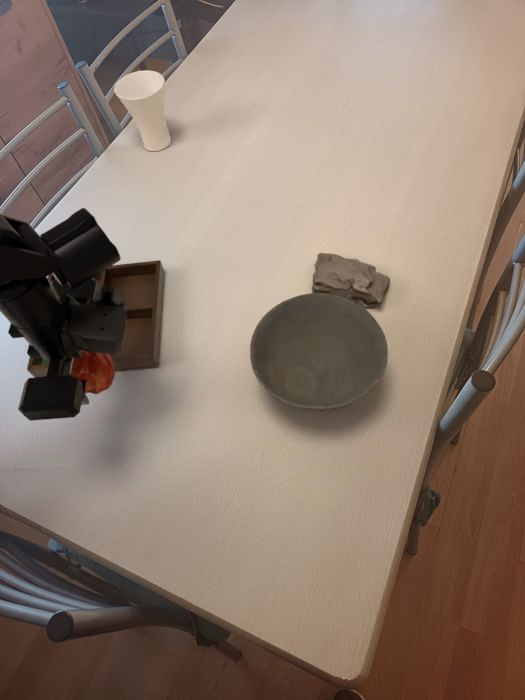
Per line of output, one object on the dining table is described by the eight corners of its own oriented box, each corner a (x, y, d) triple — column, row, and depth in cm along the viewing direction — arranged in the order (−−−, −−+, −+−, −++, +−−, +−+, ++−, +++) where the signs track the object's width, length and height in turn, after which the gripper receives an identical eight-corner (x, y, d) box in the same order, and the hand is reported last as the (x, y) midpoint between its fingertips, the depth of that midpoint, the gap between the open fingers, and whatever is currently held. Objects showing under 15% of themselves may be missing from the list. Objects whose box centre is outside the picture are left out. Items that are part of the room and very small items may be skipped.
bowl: (233, 375, 79) (223, 341, 70) (323, 311, 84) (323, 272, 75) (310, 464, 70) (309, 436, 62) (405, 386, 75) (417, 351, 67)
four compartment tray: (36, 379, 82) (26, 369, 79) (57, 283, 93) (49, 272, 90) (158, 367, 81) (153, 357, 78) (164, 271, 92) (160, 260, 89)
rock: (393, 273, 87) (396, 258, 83) (379, 314, 82) (381, 299, 79) (319, 256, 90) (319, 240, 87) (301, 294, 86) (301, 279, 83)
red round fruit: (112, 418, 67) (136, 351, 65) (65, 423, 61) (91, 349, 59) (79, 393, 71) (102, 328, 69) (32, 394, 64) (55, 324, 63)
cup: (166, 160, 109) (149, 102, 98) (126, 153, 112) (104, 95, 101) (187, 132, 114) (173, 73, 103) (148, 125, 117) (130, 67, 106)
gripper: (95, 377, 48) (142, 439, 61) (118, 237, 58) (154, 316, 71) (-17, 386, 48) (54, 445, 62) (25, 246, 59) (78, 323, 72)
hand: (89, 377), depth 66 cm, fingers closed on red round fruit, 7 cm apart
